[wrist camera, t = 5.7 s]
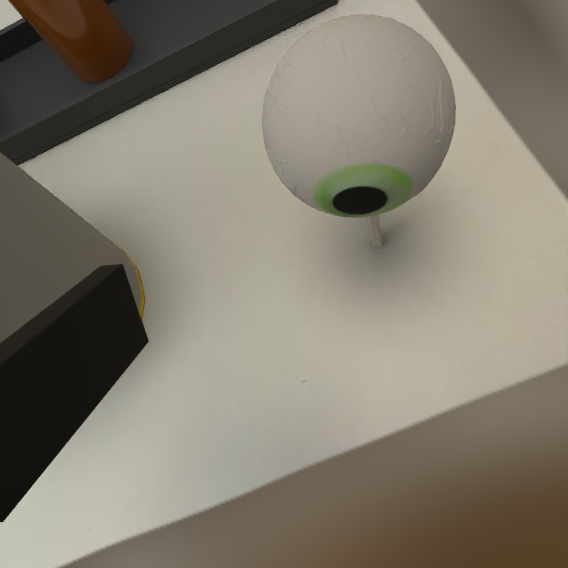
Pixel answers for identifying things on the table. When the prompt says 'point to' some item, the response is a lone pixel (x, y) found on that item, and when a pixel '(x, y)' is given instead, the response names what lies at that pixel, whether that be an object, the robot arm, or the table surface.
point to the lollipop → (359, 117)
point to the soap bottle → (46, 250)
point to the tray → (137, 71)
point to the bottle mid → (80, 34)
